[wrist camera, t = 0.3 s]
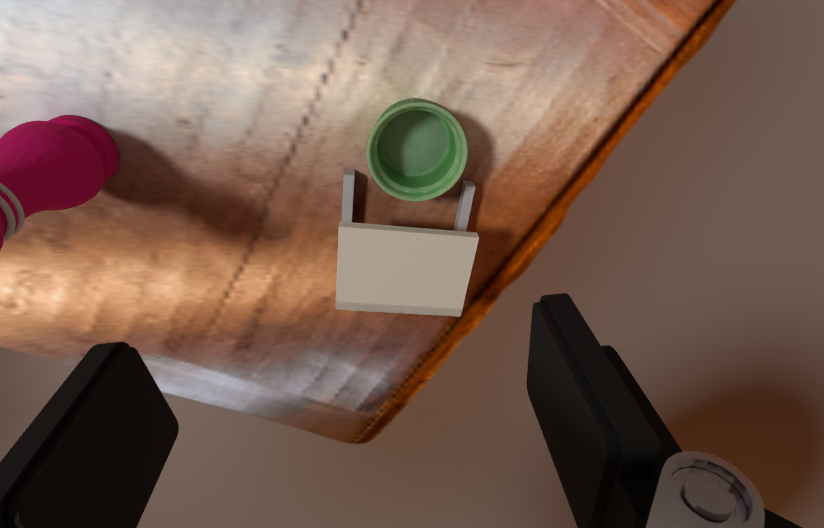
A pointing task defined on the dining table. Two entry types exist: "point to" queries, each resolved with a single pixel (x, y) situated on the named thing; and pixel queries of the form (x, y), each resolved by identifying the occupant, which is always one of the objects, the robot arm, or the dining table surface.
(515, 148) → the dining table surface
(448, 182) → the ramekin
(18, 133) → the pepper mill
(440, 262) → the overhang shelf
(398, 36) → the dining table surface
